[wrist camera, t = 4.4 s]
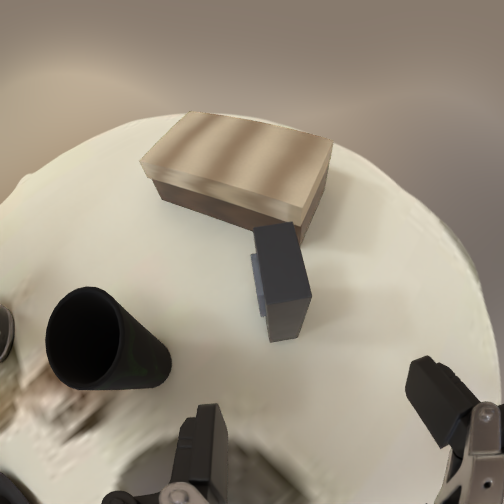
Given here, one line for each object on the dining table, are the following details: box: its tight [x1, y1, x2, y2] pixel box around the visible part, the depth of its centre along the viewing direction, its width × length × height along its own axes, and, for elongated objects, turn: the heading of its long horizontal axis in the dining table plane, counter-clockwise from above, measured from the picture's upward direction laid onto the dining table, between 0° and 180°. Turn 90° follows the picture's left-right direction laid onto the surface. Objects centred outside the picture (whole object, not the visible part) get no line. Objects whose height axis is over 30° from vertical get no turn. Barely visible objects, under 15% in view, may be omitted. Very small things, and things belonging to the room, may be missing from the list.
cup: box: [45, 286, 172, 390], centre depth 21 cm, size 8×8×12 cm
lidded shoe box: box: [139, 111, 333, 246], centre depth 33 cm, size 20×11×8 cm, turn 64°
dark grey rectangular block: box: [251, 221, 312, 342], centre depth 23 cm, size 3×6×12 cm, turn 8°
